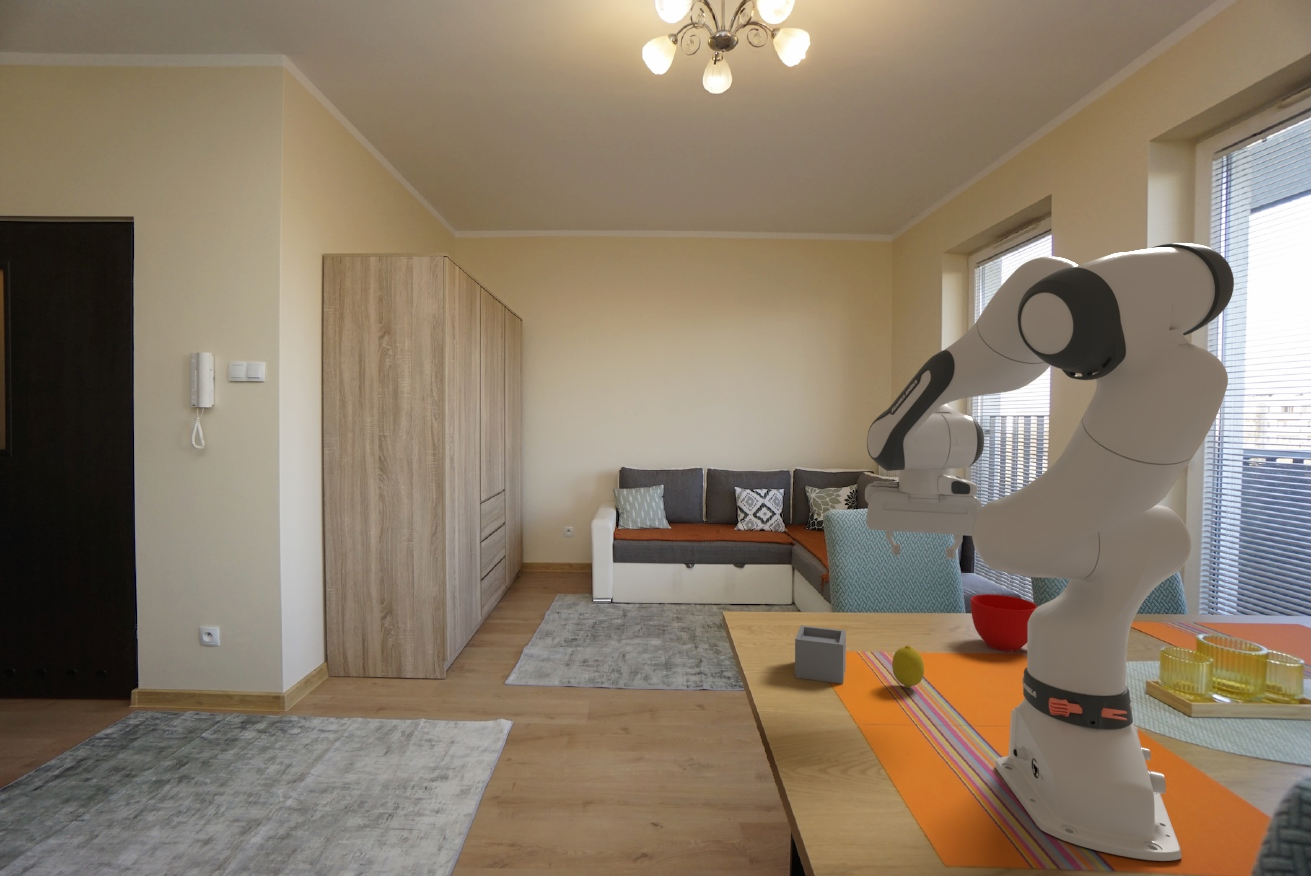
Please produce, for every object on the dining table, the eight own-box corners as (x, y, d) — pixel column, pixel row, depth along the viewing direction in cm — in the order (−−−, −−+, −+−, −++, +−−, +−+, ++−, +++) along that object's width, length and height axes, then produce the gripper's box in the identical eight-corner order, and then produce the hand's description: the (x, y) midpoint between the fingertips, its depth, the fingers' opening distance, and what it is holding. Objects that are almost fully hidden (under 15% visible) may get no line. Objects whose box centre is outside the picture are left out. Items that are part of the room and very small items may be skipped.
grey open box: (843, 684, 114) (843, 644, 114) (794, 677, 117) (795, 639, 117) (845, 666, 123) (845, 630, 123) (800, 661, 126) (800, 625, 126)
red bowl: (1066, 662, 125) (1066, 614, 125) (976, 652, 131) (976, 607, 131) (1047, 642, 138) (1048, 598, 138) (966, 634, 143) (966, 592, 143)
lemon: (928, 687, 113) (928, 645, 113) (917, 697, 109) (917, 653, 109) (898, 679, 116) (898, 638, 116) (887, 688, 112) (887, 645, 112)
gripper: (864, 482, 113) (863, 555, 113) (987, 486, 105) (985, 564, 106) (865, 479, 119) (864, 548, 119) (982, 483, 111) (980, 557, 112)
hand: (922, 556), depth 112 cm, fingers open, 8 cm apart
